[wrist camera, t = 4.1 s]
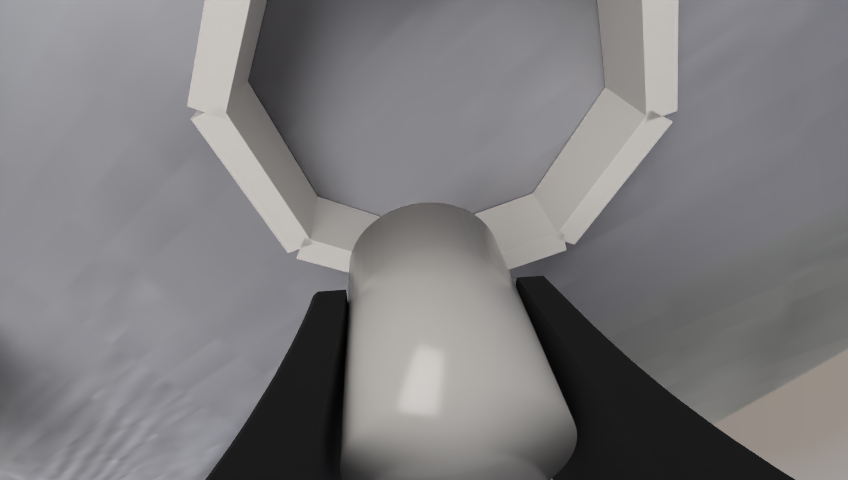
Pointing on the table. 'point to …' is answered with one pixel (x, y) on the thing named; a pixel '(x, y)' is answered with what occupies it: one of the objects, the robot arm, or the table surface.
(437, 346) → the pebble
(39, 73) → the table surface
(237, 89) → the bowl
